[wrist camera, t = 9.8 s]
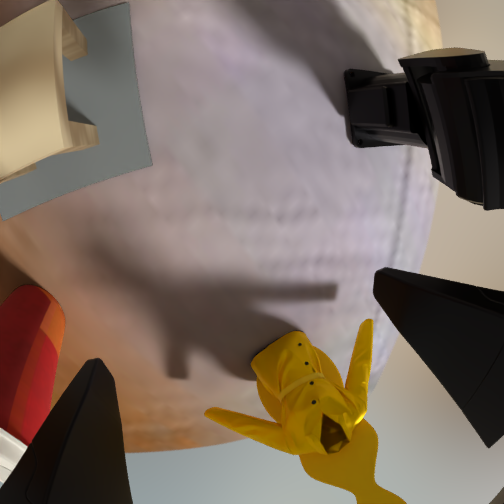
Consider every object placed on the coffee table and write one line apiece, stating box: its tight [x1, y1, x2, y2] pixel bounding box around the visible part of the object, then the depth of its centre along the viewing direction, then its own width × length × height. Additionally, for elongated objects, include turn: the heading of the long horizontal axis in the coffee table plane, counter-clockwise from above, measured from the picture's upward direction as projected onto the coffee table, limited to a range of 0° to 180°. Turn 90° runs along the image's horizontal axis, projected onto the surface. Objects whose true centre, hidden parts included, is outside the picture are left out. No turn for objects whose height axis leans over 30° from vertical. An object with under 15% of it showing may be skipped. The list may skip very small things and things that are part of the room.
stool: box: [0, 0, 100, 184], centre depth 9 cm, size 8×6×7 cm
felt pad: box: [0, 2, 152, 221], centre depth 12 cm, size 12×12×1 cm
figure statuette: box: [204, 319, 406, 504], centre depth 17 cm, size 18×8×22 cm, turn 112°
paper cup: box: [0, 285, 65, 483], centre depth 11 cm, size 8×8×14 cm
